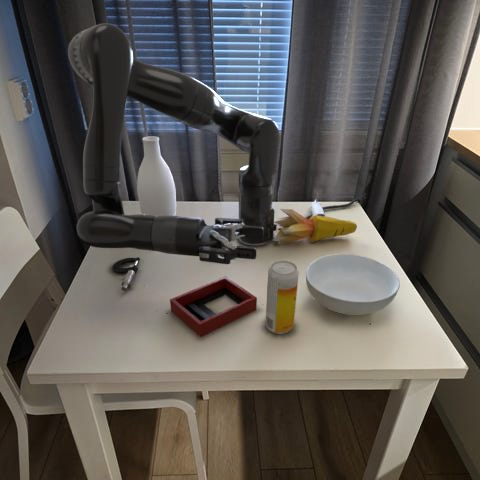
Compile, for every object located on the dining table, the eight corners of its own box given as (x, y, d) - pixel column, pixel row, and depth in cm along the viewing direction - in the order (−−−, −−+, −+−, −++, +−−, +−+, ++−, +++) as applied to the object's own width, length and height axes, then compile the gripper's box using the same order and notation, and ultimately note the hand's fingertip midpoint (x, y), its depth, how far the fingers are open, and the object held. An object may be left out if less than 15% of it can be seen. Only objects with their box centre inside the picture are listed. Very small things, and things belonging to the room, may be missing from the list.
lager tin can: (298, 326, 98) (305, 266, 88) (281, 339, 94) (286, 278, 85) (277, 314, 101) (281, 256, 92) (259, 326, 97) (261, 267, 88)
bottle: (134, 226, 136) (120, 139, 121) (159, 214, 143) (149, 130, 128) (161, 236, 131) (151, 146, 116) (186, 222, 138) (179, 136, 123)
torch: (350, 249, 133) (269, 247, 127) (345, 227, 136) (266, 224, 130) (363, 233, 125) (277, 229, 120) (357, 210, 129) (273, 205, 123)
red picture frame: (225, 288, 109) (225, 276, 107) (256, 310, 102) (257, 297, 100) (171, 312, 102) (169, 299, 99) (200, 337, 94) (199, 324, 92)
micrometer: (116, 260, 120) (115, 252, 118) (143, 261, 120) (141, 253, 118) (99, 292, 108) (97, 283, 106) (129, 293, 108) (127, 284, 106)
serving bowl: (409, 322, 99) (417, 297, 95) (318, 332, 96) (321, 306, 92) (372, 273, 115) (377, 249, 111) (293, 280, 112) (295, 256, 108)
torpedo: (329, 232, 134) (332, 211, 130) (313, 231, 134) (316, 211, 130) (321, 207, 148) (323, 188, 144) (306, 207, 148) (308, 187, 144)
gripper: (165, 234, 81) (254, 242, 79) (187, 203, 92) (266, 209, 90) (169, 270, 86) (253, 278, 83) (190, 236, 97) (264, 242, 94)
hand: (260, 242), depth 86 cm, fingers open, 8 cm apart
